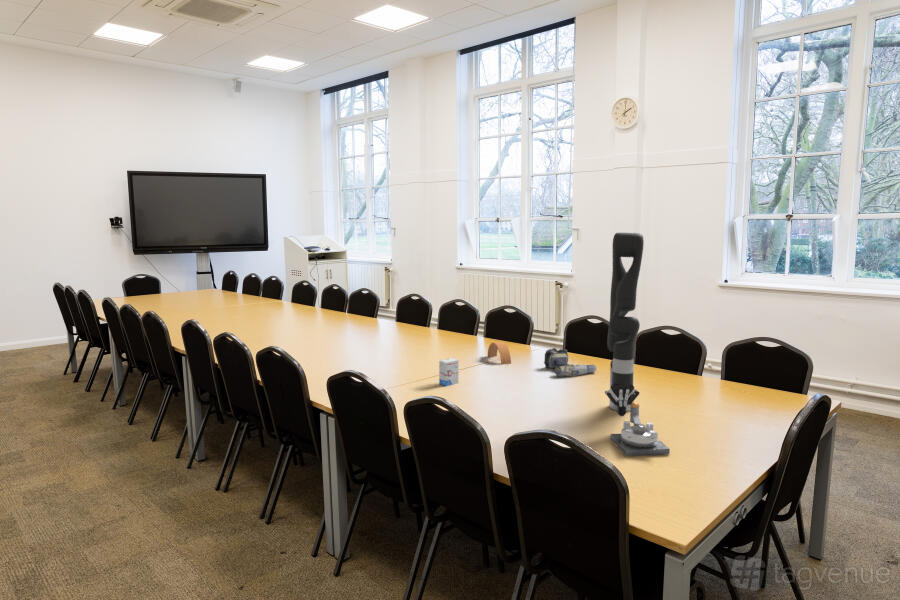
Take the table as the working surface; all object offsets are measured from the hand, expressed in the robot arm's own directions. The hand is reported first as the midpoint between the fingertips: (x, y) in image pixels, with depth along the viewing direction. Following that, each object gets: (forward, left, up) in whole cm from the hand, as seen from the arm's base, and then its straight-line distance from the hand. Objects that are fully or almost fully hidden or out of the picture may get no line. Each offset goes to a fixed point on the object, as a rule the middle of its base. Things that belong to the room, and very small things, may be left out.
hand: (621, 415), depth 215 cm
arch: (-113, -29, -6) cm, 117 cm away
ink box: (-69, -60, -6) cm, 92 cm away
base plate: (+15, +1, -6) cm, 16 cm away
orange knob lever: (+10, +2, -4) cm, 11 cm away
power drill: (-84, +1, -7) cm, 84 cm away
